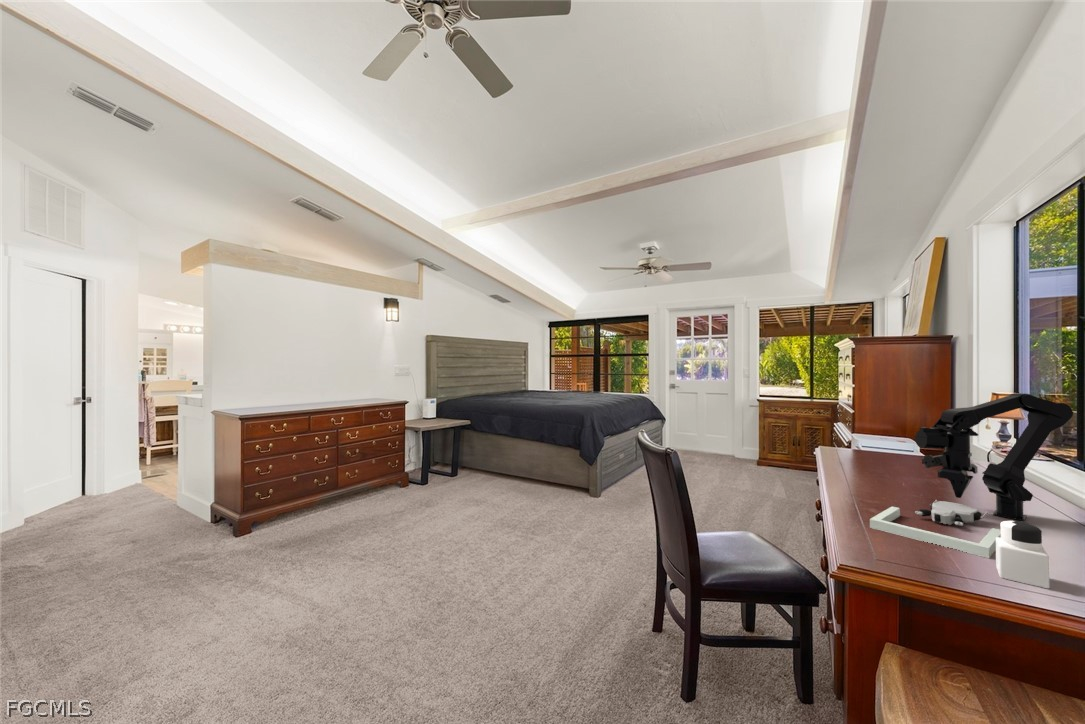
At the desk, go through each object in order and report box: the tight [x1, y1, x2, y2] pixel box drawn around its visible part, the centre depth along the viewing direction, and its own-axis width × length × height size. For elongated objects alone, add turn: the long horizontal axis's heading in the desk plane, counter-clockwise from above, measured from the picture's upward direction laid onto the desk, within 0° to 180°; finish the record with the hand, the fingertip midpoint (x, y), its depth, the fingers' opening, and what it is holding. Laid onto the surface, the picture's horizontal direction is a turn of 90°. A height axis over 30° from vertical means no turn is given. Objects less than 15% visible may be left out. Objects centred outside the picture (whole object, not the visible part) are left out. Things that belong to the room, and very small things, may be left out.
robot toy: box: [914, 499, 989, 527], centre depth 127 cm, size 12×4×15 cm
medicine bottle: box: [995, 520, 1050, 590], centre depth 93 cm, size 7×7×12 cm
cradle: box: [869, 506, 1001, 559], centre depth 117 cm, size 20×24×2 cm
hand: (958, 497), depth 133 cm, fingers closed
